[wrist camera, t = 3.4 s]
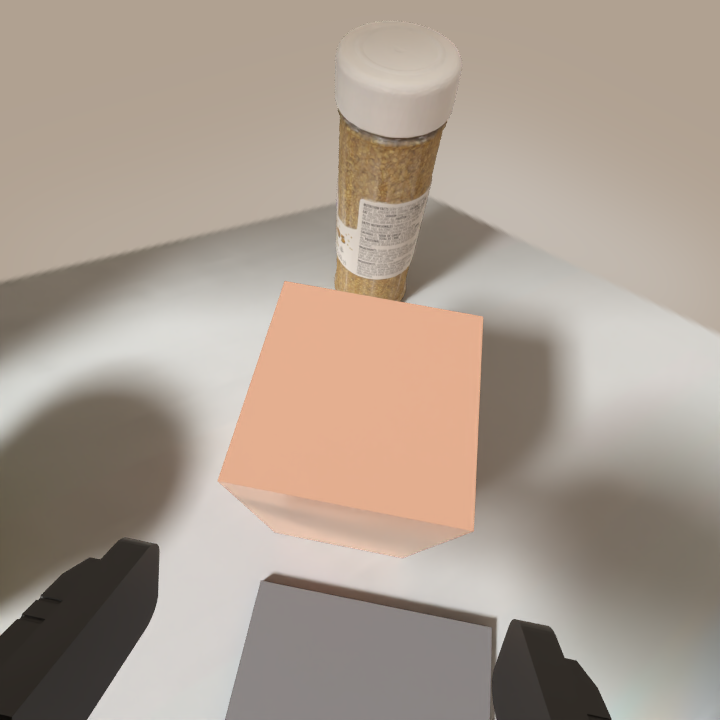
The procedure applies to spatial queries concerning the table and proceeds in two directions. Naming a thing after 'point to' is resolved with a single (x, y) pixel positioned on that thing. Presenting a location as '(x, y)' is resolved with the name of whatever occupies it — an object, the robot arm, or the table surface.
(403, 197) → the spice jar
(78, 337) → the table surface
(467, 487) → the tall peach pillar
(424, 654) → the gray mat
